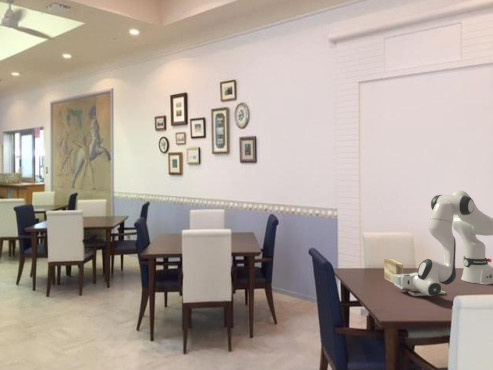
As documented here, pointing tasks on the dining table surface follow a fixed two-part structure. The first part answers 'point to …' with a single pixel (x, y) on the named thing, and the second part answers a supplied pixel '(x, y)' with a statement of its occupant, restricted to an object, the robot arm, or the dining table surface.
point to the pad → (442, 292)
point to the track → (399, 286)
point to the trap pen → (416, 293)
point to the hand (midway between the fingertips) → (403, 274)
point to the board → (392, 269)
